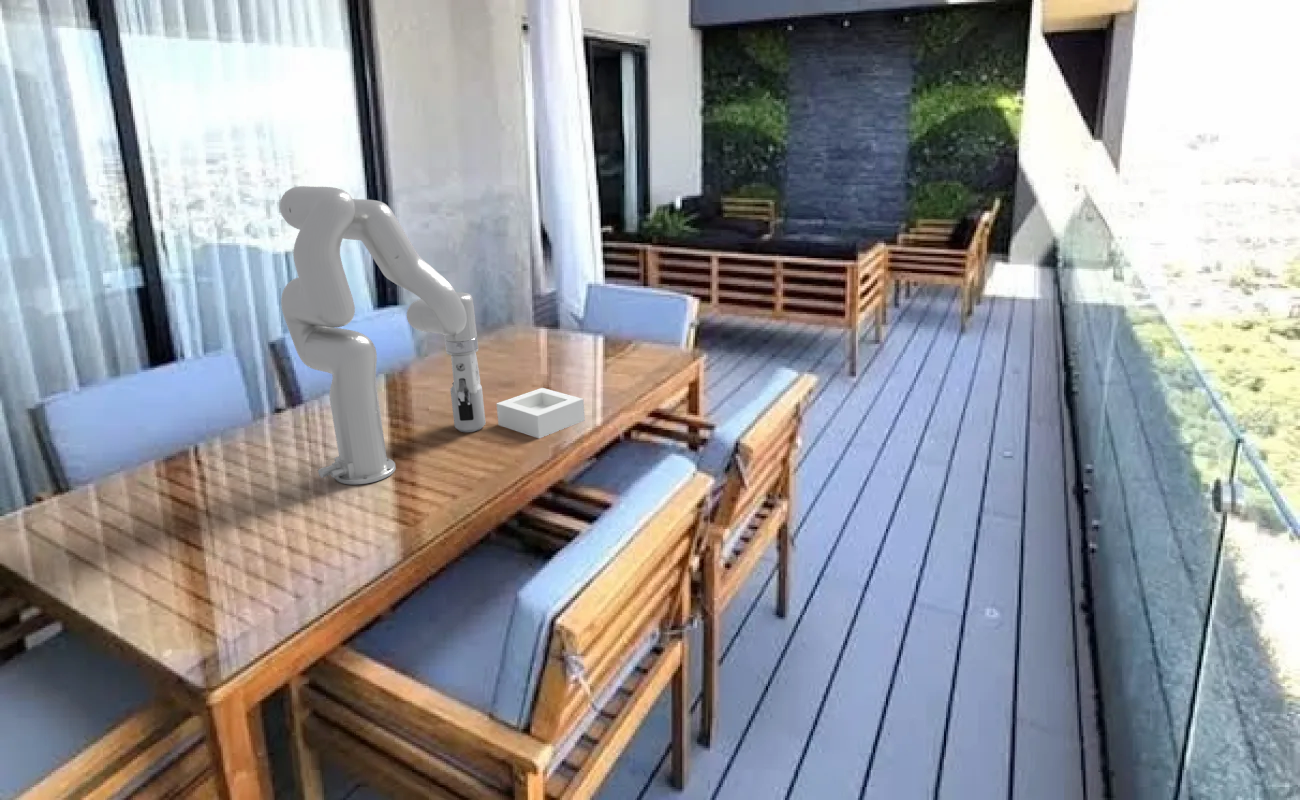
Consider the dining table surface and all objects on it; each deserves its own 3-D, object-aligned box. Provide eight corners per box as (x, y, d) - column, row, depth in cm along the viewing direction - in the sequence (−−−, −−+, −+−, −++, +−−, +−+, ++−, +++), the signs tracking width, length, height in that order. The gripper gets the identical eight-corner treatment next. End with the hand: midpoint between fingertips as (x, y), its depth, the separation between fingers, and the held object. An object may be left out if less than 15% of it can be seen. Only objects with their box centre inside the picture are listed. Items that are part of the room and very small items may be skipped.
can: (478, 434, 201) (473, 386, 197) (449, 432, 203) (444, 385, 199) (490, 423, 208) (486, 377, 204) (462, 421, 210) (457, 376, 206)
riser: (539, 439, 197) (537, 416, 195) (498, 426, 207) (496, 403, 205) (584, 421, 208) (583, 398, 206) (544, 409, 217) (542, 387, 215)
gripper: (472, 354, 191) (480, 424, 196) (482, 334, 207) (489, 400, 213) (439, 356, 190) (448, 426, 196) (451, 336, 207) (459, 401, 212)
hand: (469, 412), depth 204 cm, fingers open, 9 cm apart
